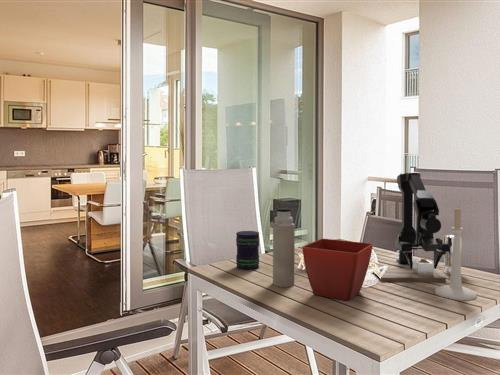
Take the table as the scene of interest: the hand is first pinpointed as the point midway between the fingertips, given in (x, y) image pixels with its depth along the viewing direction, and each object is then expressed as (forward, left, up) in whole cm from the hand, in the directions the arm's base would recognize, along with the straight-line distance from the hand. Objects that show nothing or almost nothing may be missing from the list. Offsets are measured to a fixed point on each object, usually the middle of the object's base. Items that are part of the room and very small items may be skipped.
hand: (423, 268), depth 172 cm
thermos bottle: (+11, -55, -4) cm, 56 cm away
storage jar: (-13, -69, -4) cm, 70 cm away
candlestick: (+22, +3, -4) cm, 22 cm away
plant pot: (+22, -37, -4) cm, 43 cm away
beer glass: (-7, +14, -4) cm, 16 cm away
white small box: (0, 0, -2) cm, 2 cm away
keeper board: (0, -6, -3) cm, 7 cm away
